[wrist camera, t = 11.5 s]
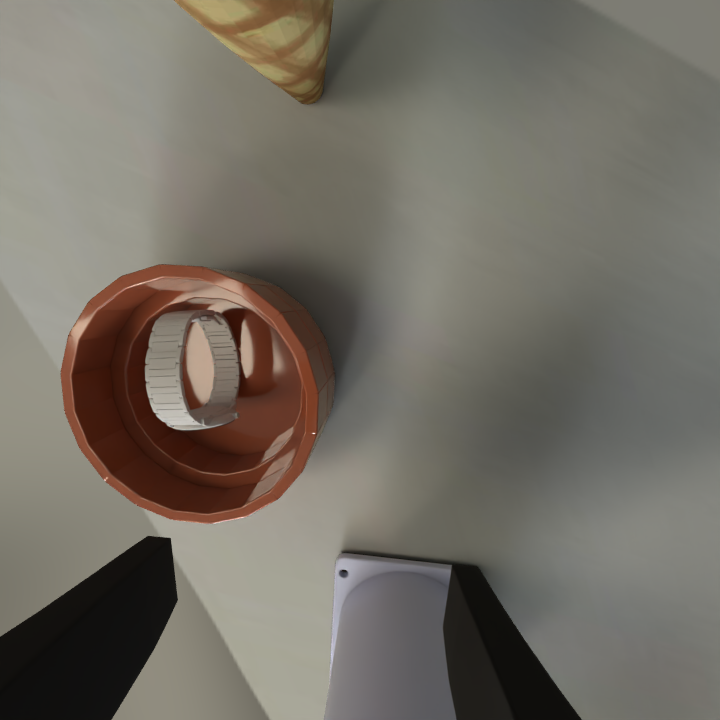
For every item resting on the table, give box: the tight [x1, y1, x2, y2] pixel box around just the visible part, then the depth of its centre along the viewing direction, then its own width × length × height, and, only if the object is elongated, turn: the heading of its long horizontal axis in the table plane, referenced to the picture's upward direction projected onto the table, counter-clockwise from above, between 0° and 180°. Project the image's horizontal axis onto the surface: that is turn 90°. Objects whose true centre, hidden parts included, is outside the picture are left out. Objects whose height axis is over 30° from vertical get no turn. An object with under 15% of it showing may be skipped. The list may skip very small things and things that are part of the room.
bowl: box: [61, 264, 335, 524], centre depth 16 cm, size 11×11×4 cm
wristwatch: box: [145, 310, 241, 431], centre depth 15 cm, size 3×5×5 cm, turn 3°
